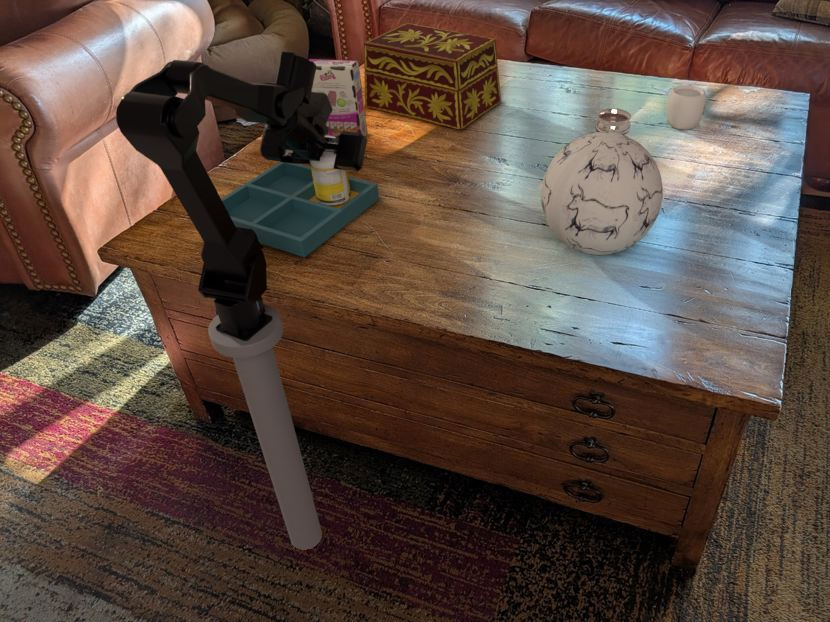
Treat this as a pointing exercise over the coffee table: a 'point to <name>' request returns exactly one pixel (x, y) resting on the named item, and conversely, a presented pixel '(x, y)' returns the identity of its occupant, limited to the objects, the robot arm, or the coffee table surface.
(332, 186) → the pill bottle
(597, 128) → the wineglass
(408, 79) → the decorative box
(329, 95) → the candy bar box
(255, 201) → the tray
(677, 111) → the mug
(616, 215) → the decorative sphere
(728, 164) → the coffee table surface
